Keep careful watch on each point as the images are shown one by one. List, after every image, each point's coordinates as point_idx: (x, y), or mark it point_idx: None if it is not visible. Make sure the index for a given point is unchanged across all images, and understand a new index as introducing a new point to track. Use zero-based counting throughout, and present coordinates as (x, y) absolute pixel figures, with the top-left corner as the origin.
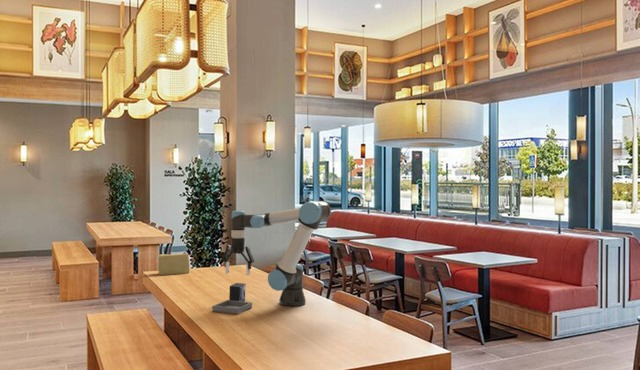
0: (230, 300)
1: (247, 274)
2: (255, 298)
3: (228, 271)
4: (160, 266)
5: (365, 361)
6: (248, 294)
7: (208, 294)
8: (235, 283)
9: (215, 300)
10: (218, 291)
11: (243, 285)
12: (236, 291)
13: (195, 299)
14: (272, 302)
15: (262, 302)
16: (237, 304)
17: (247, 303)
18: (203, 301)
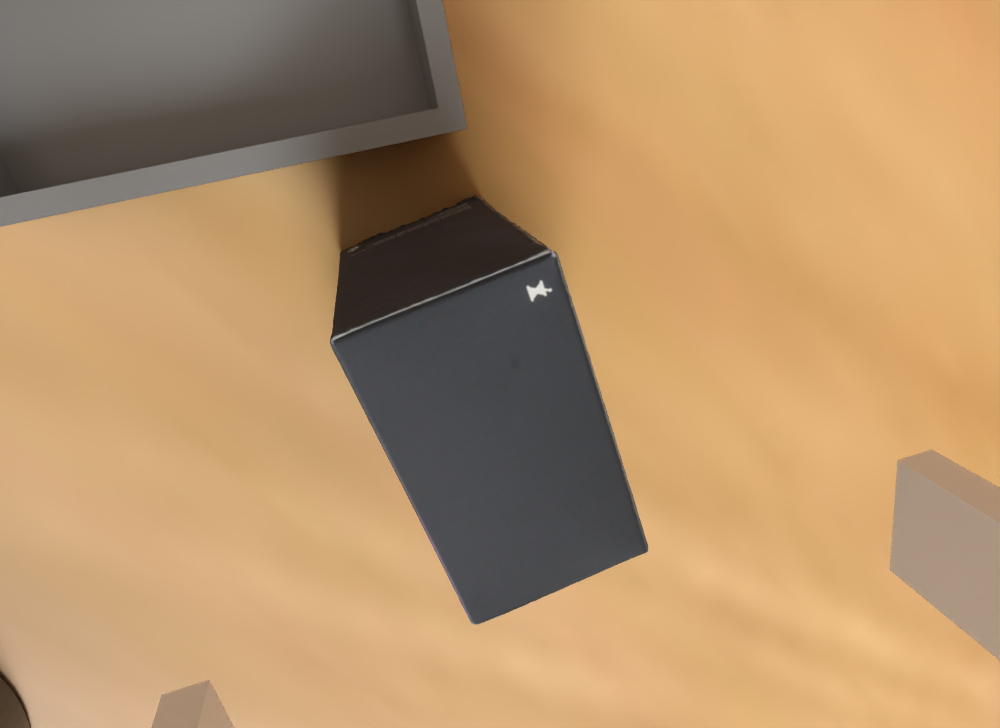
0: (397, 126)
1: (158, 715)
2: (423, 614)
3: (930, 570)
4: None
5: None
6: (613, 672)
7: (970, 413)
8: (617, 503)
9: (758, 249)
10: None
11: (425, 530)
12: (386, 281)
13: (994, 134)
14: (89, 621)
15: (192, 543)
16: (256, 144)
17: (45, 188)
18: (859, 108)
